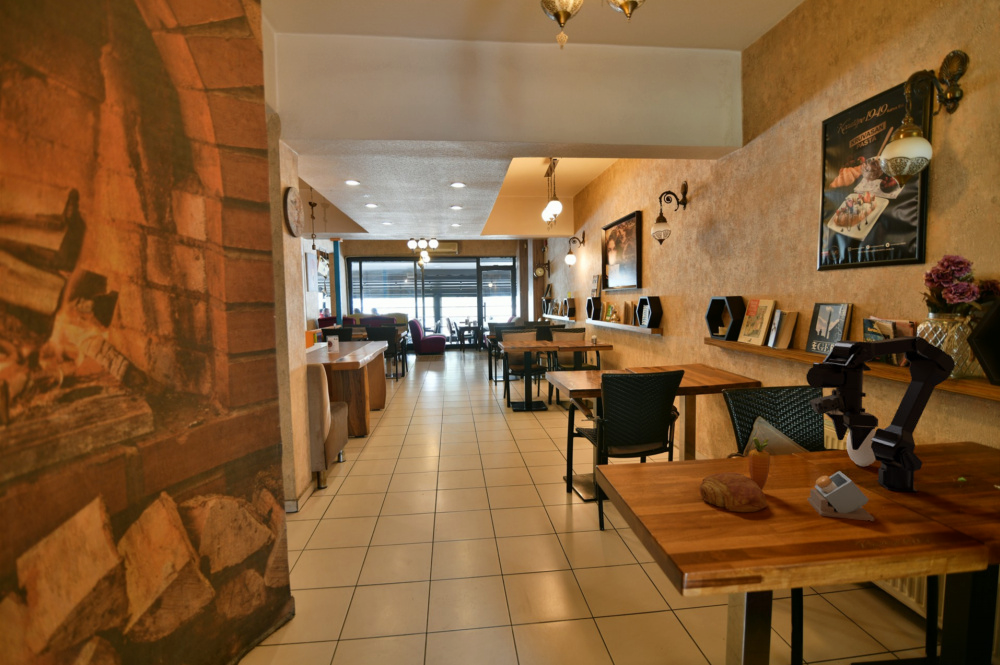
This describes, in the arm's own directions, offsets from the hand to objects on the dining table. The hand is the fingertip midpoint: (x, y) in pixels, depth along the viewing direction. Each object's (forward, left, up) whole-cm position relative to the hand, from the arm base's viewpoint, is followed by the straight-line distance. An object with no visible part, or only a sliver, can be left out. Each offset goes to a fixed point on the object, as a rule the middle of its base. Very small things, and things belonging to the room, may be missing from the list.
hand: (847, 444), depth 123 cm
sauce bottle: (-13, -24, -13) cm, 30 cm away
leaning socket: (+7, +15, -13) cm, 21 cm away
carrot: (+23, +8, -13) cm, 27 cm away
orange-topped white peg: (+6, +15, -11) cm, 19 cm away
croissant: (+31, +16, -13) cm, 37 cm away
